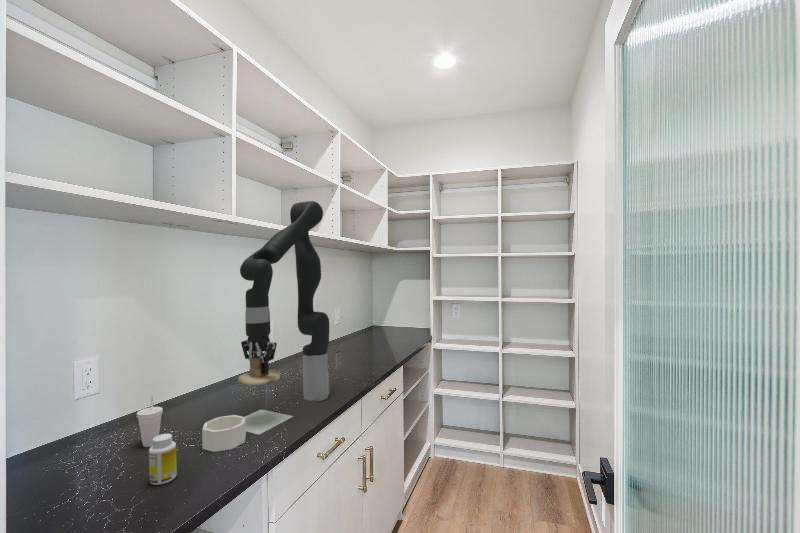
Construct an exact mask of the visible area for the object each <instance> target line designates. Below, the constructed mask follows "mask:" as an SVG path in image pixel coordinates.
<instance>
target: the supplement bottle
mask: <svg viewBox="0 0 800 533" xmlns="http://www.w3.org/2000/svg"><path fill="white" fill-rule="evenodd" d="M177 461H178V460H177V444H176V442H175V441H174V440H173V434H172V433H161V434H159V435H158V436H156V437H154V438H153V446H150V448H149V449H148V465H149V466H148V467H149V468H148V471H149V472H148V473H149V483H150V484H151V485H153V486H159V485H161V486H162V485H164V484H167V483H169V482H172V481H173V480H174V479H175V478H176V477H177V475H178V469H177V466H178V465H177Z"/></svg>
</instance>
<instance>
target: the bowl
mask: <svg viewBox="0 0 800 533" xmlns="http://www.w3.org/2000/svg"><path fill="white" fill-rule="evenodd" d="M246 437H247V432H246V417H245V416H242V415H236V414H231V415H224V416H218V417H216V418H213V419H210V420H208V421H206V422H204V425H203V427H202V429H201V439H202V440H201V441H202V444H201V445H202V446H201V448H202V450H204V451H209V452H212V453H216V452H222V451H228V450H233V449H235V448H236V447H238V446H240V445H242V444H244V443H246Z"/></svg>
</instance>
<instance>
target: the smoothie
mask: <svg viewBox="0 0 800 533" xmlns="http://www.w3.org/2000/svg"><path fill="white" fill-rule="evenodd" d="M163 412H164V410H163V407H161V406H154V394H150V407H145V408H143V409H141V410H138V411H137V412H136V418H137V419H138V426H139V431H140V438H141V442H142V447H144V448H149V447H151V446H153V438H154V437H156V436H158V435H160V430H161V420H162V413H163Z"/></svg>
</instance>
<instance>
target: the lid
mask: <svg viewBox="0 0 800 533" xmlns="http://www.w3.org/2000/svg"><path fill="white" fill-rule="evenodd" d="M264 358H265V355H264ZM261 363H262V362H261V358H260V356H259V355H258V356H256V357H252V358H250V361H249V372H246V373H243V374H240V375H239V376H238V377H237V383H238V384H239V385H243V386H259V385H266V384H270V383H273V382H276V381H278V380H279V379H281V376H282V375H281V372H280V371H278V370H275V369H269V371H268V373H266V374H262V373H261Z"/></svg>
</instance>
